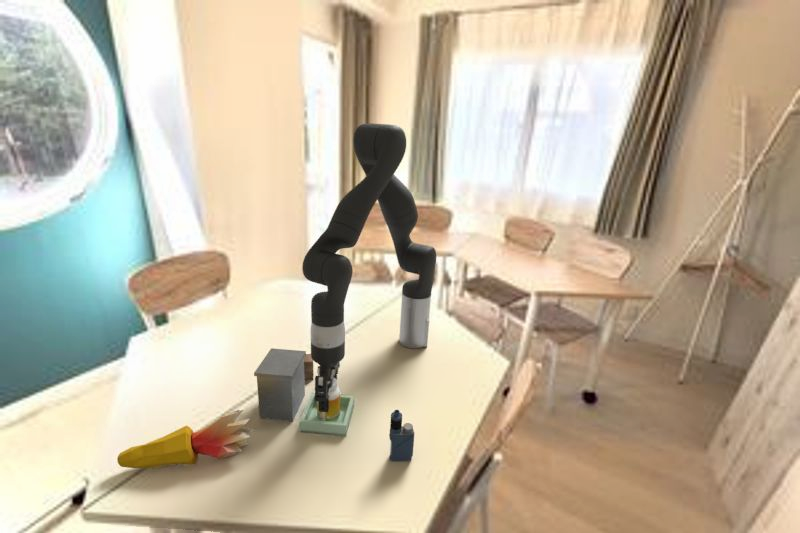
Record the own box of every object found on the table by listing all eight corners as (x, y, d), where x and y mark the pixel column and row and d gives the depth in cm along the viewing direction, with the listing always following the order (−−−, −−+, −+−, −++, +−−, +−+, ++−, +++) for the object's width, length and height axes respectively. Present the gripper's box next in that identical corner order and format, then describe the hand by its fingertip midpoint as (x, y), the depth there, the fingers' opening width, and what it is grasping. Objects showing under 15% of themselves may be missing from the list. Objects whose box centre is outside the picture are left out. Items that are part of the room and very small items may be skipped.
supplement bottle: (343, 412, 100) (344, 377, 97) (333, 426, 95) (333, 390, 92) (323, 406, 102) (323, 372, 99) (312, 420, 97) (312, 384, 94)
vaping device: (387, 453, 89) (390, 407, 85) (411, 452, 90) (415, 406, 86) (388, 462, 87) (391, 415, 83) (413, 461, 87) (416, 415, 83)
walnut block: (313, 372, 116) (313, 353, 114) (313, 380, 113) (313, 361, 111) (298, 373, 116) (298, 354, 114) (298, 381, 112) (297, 362, 110)
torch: (129, 482, 83) (257, 440, 91) (115, 496, 76) (256, 450, 84) (122, 441, 84) (250, 403, 92) (107, 452, 76) (248, 409, 85)
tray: (354, 406, 103) (354, 396, 102) (346, 436, 93) (346, 425, 92) (312, 402, 104) (312, 392, 103) (300, 432, 94) (299, 421, 93)
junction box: (306, 394, 107) (305, 351, 103) (294, 422, 97) (292, 376, 92) (273, 391, 107) (271, 348, 103) (257, 419, 97) (253, 372, 93)
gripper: (337, 356, 84) (337, 421, 90) (350, 324, 98) (349, 382, 103) (301, 353, 85) (303, 418, 90) (319, 322, 98) (320, 380, 104)
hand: (328, 399), depth 97 cm, fingers open, 8 cm apart
